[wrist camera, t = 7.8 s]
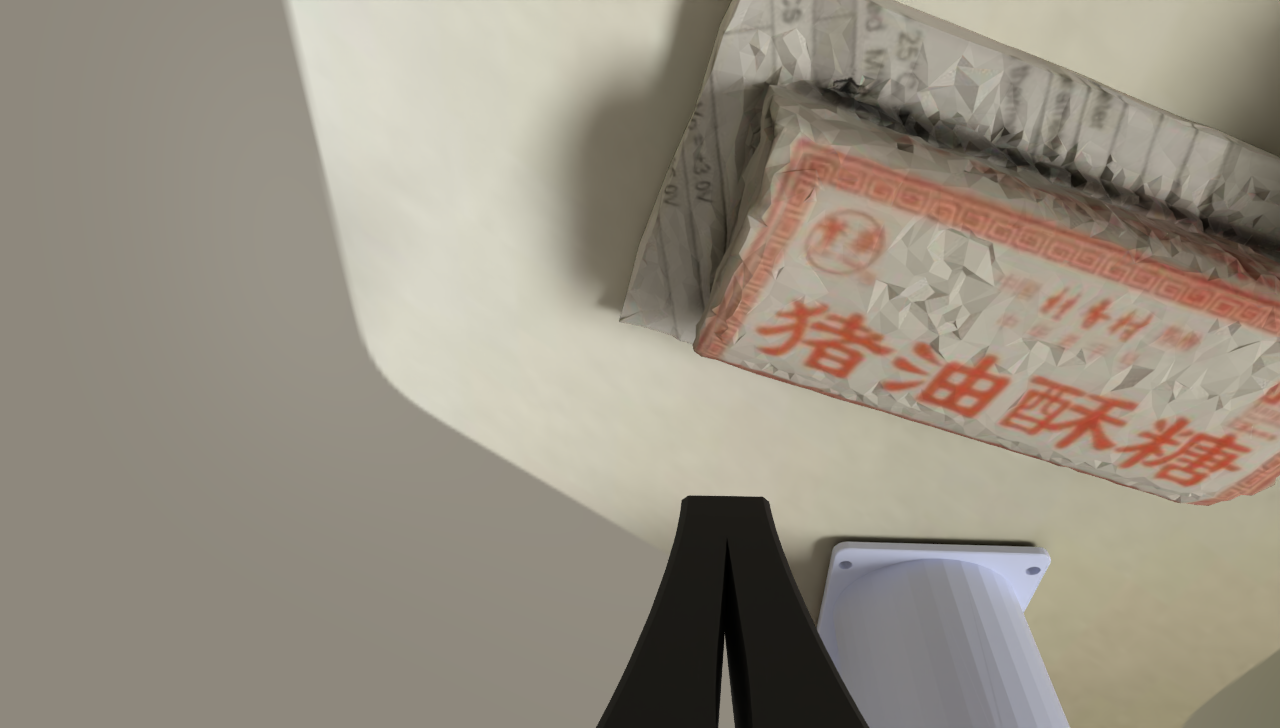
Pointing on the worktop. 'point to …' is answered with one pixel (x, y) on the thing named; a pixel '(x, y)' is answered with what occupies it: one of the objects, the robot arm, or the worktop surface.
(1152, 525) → the worktop surface
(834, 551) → the robot arm
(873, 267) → the packaged product
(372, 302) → the worktop surface
